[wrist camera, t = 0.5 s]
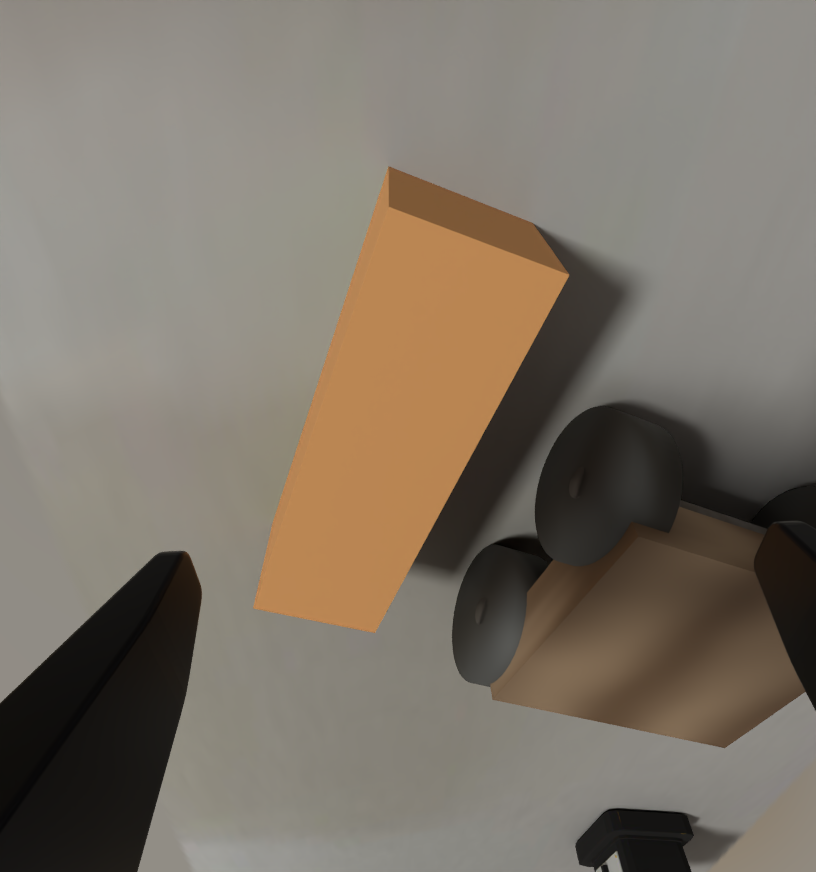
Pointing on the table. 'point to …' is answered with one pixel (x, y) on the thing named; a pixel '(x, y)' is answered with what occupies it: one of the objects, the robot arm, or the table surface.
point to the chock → (403, 396)
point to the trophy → (636, 842)
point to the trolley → (630, 595)
